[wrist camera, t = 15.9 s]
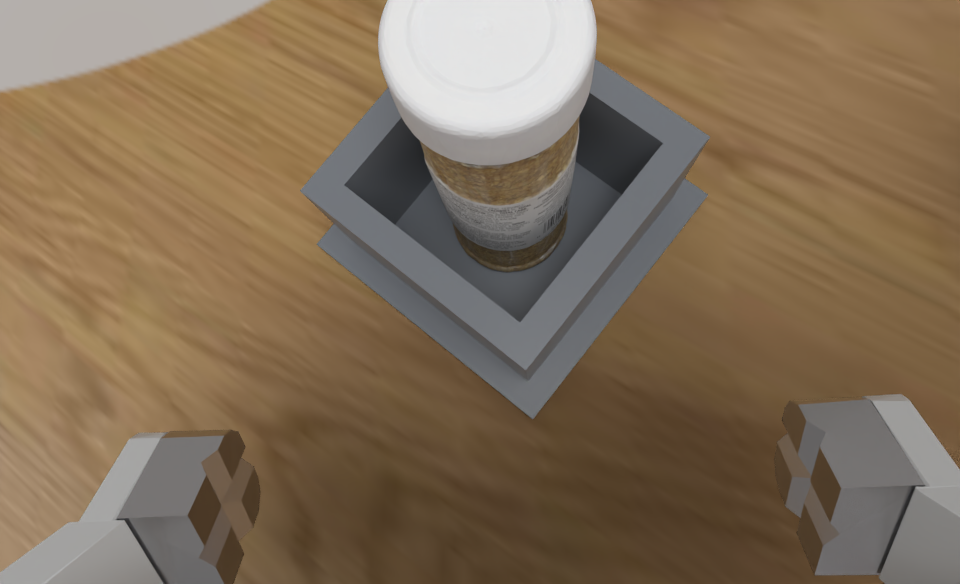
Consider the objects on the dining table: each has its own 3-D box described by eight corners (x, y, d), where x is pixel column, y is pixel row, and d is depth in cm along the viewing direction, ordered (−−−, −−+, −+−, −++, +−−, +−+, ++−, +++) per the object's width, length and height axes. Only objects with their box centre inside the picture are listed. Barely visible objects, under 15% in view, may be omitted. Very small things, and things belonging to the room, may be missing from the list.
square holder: (488, 49, 29) (474, -58, 22) (704, 199, 27) (757, 130, 20) (321, 248, 28) (256, 196, 21) (532, 419, 26) (531, 419, 19)
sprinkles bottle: (501, 143, 27) (470, -114, 14) (592, 210, 27) (647, 3, 13) (429, 229, 27) (327, 46, 14) (518, 300, 26) (500, 177, 13)
